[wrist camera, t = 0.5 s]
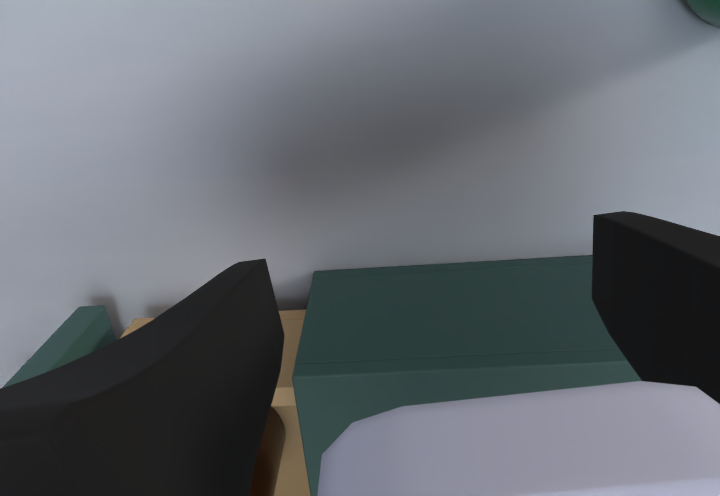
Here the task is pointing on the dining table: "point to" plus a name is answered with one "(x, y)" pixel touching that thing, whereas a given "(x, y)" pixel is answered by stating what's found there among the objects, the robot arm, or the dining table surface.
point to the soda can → (707, 10)
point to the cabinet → (444, 340)
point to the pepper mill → (269, 457)
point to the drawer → (95, 331)
